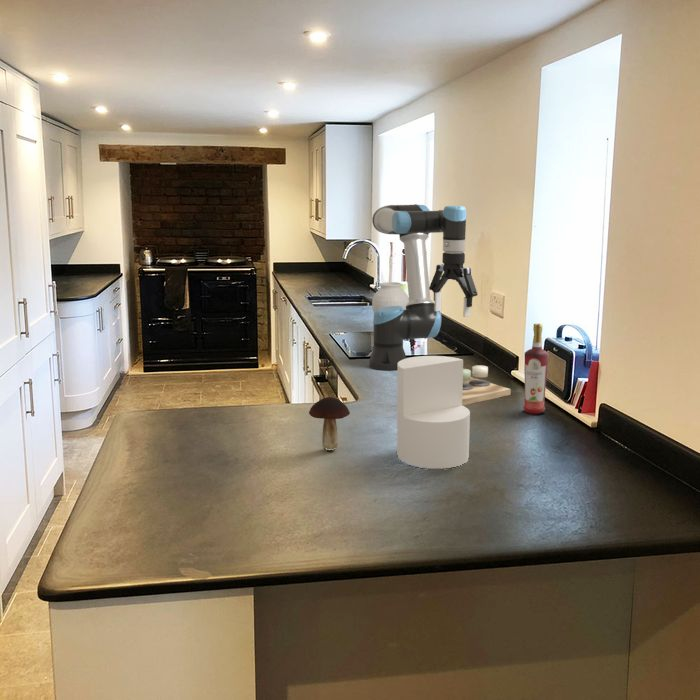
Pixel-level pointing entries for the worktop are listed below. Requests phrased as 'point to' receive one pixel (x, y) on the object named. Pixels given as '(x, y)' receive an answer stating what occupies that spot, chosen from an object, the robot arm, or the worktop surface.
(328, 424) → the decorative mushroom
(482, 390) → the button board
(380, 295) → the vase
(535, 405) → the liquor
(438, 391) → the cylinder
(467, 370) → the sage button
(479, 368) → the cream button
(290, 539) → the worktop surface
